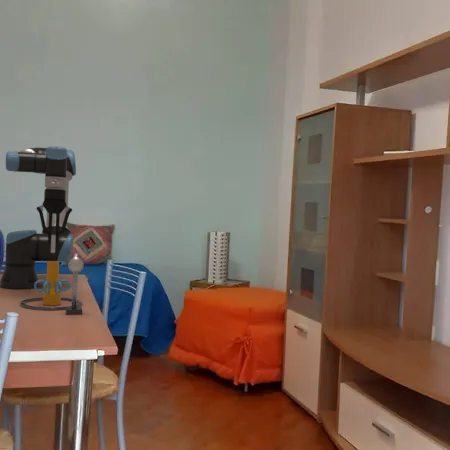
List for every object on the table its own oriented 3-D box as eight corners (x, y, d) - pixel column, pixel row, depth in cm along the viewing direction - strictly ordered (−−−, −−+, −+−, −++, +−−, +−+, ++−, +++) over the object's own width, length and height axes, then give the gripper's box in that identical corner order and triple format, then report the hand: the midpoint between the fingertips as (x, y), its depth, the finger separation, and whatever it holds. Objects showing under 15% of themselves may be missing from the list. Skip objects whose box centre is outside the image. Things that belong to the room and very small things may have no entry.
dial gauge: (65, 309, 191) (67, 251, 191) (80, 309, 193) (82, 252, 192) (66, 314, 183) (68, 254, 182) (82, 314, 185) (84, 254, 184)
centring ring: (20, 299, 205) (20, 296, 205) (81, 299, 212) (81, 296, 212) (17, 311, 185) (17, 307, 185) (85, 310, 192) (85, 307, 192)
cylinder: (57, 308, 193) (59, 264, 192) (29, 305, 195) (30, 262, 194) (73, 302, 205) (74, 261, 204) (46, 300, 207) (48, 259, 206)
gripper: (36, 187, 204) (34, 253, 205) (74, 189, 208) (71, 253, 209) (36, 187, 211) (34, 251, 212) (73, 189, 215) (70, 251, 216)
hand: (52, 252), depth 210 cm, fingers closed
